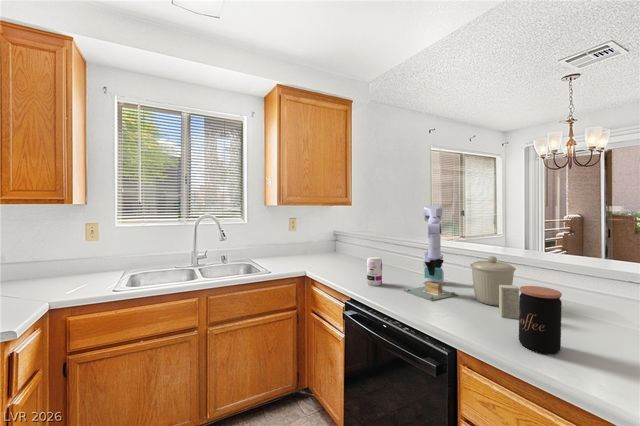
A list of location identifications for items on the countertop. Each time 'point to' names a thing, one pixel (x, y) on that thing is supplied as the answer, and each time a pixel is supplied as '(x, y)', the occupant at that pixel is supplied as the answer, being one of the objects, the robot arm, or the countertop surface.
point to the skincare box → (509, 301)
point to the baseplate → (430, 294)
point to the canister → (490, 279)
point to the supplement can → (374, 271)
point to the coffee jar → (540, 319)
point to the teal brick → (434, 274)
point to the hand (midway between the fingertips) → (434, 274)
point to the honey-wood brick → (433, 287)
